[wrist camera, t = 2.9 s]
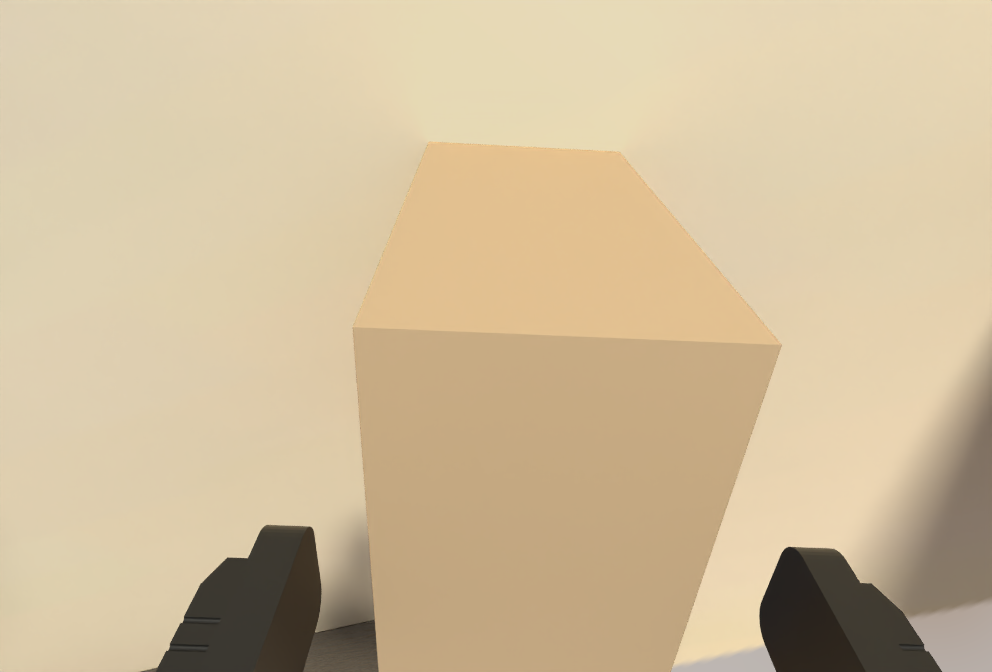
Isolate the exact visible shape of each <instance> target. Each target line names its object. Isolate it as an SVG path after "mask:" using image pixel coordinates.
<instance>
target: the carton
mask: <svg viewBox="0 0 992 672" xmlns="http://www.w3.org/2000/svg"><path fill="white" fill-rule="evenodd" d="M353 338H354V351H355V365H356V378H357V391H358V404H359V418H360V431H361V444H362V458H363V471H364V484H365V497H366V511H367V524H368V537H369V550H370V564H371V577H372V590H373V603H374V617H375V630H376V643H377V656H378V670H379V672H671V669H672V666H673V663H674V660H675V657H676V654H677V651H678V649H679V646H680V643H681V640H682V637H683V634H684V631H685V628H686V625H687V622H688V619H689V616H690V613H691V610H692V607H693V604H694V602H695V599H696V596H697V593H698V590H699V587H700V584H701V581H702V578H703V575H704V572H705V569H706V566H707V563H708V560H709V558H710V555H711V552H712V549H713V546H714V543H715V540H716V537H717V534H718V531H719V528H720V525H721V522H722V519H723V516H724V513H725V511H726V508H727V505H728V502H729V499H730V496H731V493H732V490H733V487H734V484H735V481H736V478H737V475H738V472H739V469H740V466H741V464H742V461H743V458H744V455H745V452H746V449H747V446H748V443H749V440H750V437H751V434H752V431H753V428H754V425H755V422H756V420H757V417H758V414H759V411H760V408H761V405H762V402H763V399H764V396H765V393H766V390H767V387H768V384H769V381H770V378H771V375H772V373H773V370H774V367H775V364H776V361H777V358H778V355H779V352H780V349H781V346H782V345H781V343H780V342H779V341H778V340H777V339H776V337H775V336H774V335H773V334H772V333H771V331H770V330H769V329H768V328H767V327H766V326H765V324H764V323H763V322H762V321H761V320H760V318H759V317H758V316H757V315H756V314H755V312H754V311H753V310H752V309H751V308H750V307H749V305H748V304H747V303H746V302H745V301H744V299H743V298H742V297H741V296H740V295H739V293H738V292H737V291H736V290H735V289H734V287H733V286H732V285H731V284H730V283H729V282H728V280H727V279H726V278H725V277H724V276H723V274H722V273H721V272H720V271H719V270H718V268H717V267H716V266H715V265H714V264H713V263H712V261H711V260H710V259H709V258H708V257H707V255H706V254H705V253H704V252H703V251H702V249H701V248H700V247H699V246H698V245H697V244H696V242H695V241H694V240H693V239H692V238H691V236H690V235H689V234H688V233H687V232H686V230H685V229H684V228H683V227H682V226H681V225H680V223H679V222H678V221H677V220H676V219H675V217H674V216H673V215H672V214H671V213H670V211H669V210H668V209H667V208H666V207H665V205H664V204H663V203H662V202H661V201H660V200H659V198H658V197H657V196H656V195H655V194H654V192H653V191H652V190H651V189H650V188H649V186H648V185H647V184H646V183H645V182H644V181H643V179H642V178H641V177H640V176H639V175H638V173H637V172H636V171H635V170H634V169H633V167H632V166H631V165H630V164H629V163H628V162H627V160H626V159H625V158H624V157H623V156H622V154H621V153H620V152H613V151H594V150H575V149H556V148H537V147H519V146H500V145H481V144H462V143H443V142H429V143H428V145H427V147H426V150H425V152H424V155H423V157H422V160H421V162H420V164H419V167H418V169H417V172H416V174H415V177H414V179H413V181H412V184H411V186H410V189H409V191H408V194H407V196H406V199H405V201H404V203H403V206H402V208H401V211H400V213H399V216H398V218H397V220H396V223H395V225H394V228H393V230H392V233H391V235H390V237H389V240H388V242H387V245H386V247H385V250H384V252H383V255H382V257H381V259H380V262H379V264H378V267H377V269H376V272H375V274H374V276H373V279H372V281H371V284H370V286H369V289H368V291H367V293H366V296H365V298H364V301H363V303H362V306H361V308H360V311H359V313H358V315H357V318H356V320H355V323H354V325H353Z"/></svg>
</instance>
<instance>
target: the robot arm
mask: <svg viewBox="0 0 992 672" xmlns="http://www.w3.org/2000/svg"><path fill="white" fill-rule="evenodd" d="M320 604H321V580H320V573H319V566H318V558H317V551H316V544H315V536H314V531H313V529H312V527H305V526H279V525H266V526H264V527H263V528H262V530H261V531H260V533H259V535H258V537H257V540H256V542H255V544H254V546H253V549H252V551H251V553H250V555H249V557H248V558H227V559H226V560H225V561H224V562H223V563H222V564H221V565H220V566H219V567H218V568H217V569H216V570H214V571H213V572H212V573H211V574H210V575H209V576H208V577H207V578H206V579H205V580H204V581H203V582H202V583H201V584H200V586H199V588H198V590H197V592H196V594H195V596H194V598H193V600H192V602H191V604H190V606H189V608H188V610H187V612H186V614H185V616H184V621H183V623H180V625H179V627H178V629H177V631H176V633H175V635H174V637H173V639H172V641H171V643H170V649H169V651H166V653H165V655H164V657H163V659H162V660H161V662H160V664H159V666H158V668H157V670H156V672H303V670H304V667H305V664H306V660H307V657H308V653H309V650H310V646H311V643H312V640H313V636H314V633H315V629H316V626H317V622H318V617H319V612H320ZM760 628H761V633H762V637H763V640H764V643H765V646H766V648H767V650H768V652H769V655H770V658H771V660H772V662H773V665H774V667H775V669H776V672H942V671H941V669H940V668H939V666H938V665H937V663H936V662H935V660H934V659H933V657H932V656H931V654H930V653H929V652H926V651H925V649H924V644H923V642H922V641H921V639H920V638H919V636H918V635H917V633H916V632H915V630H914V629H913V627H912V626H911V624H910V623H909V621H908V620H907V618H906V617H905V615H904V614H903V612H902V611H901V610H900V609H898V608H897V607H896V606H895V605H894V604H893V603H892V602H891V601H890V600H889V599H888V598H886V597H885V596H884V595H883V594H882V593H881V592H880V591H879V590H878V589H877V588H876V587H874V586H873V585H872V584H867V583H860V582H859V580H858V579H857V577H856V575H855V574H854V572H853V571H852V569H851V567H850V566H849V564H848V563H847V561H846V560H845V558H844V557H843V556H842V555H841V553H839V552H838V551H837V550H835V549H827V548H801V547H788V548H786V549H784V551H783V552H782V554H781V556H780V559H779V561H778V563H777V566H776V568H775V571H774V573H773V575H772V578H771V580H770V583H769V585H768V588H767V590H766V592H765V595H764V597H763V600H762V602H761V606H760Z"/></svg>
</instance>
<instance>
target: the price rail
mask: <svg viewBox="0 0 992 672" xmlns="http://www.w3.org/2000/svg"><path fill="white" fill-rule="evenodd" d="M156 670H157V668H156V669H152V670H147V671H143V672H156ZM303 672H379V670H378V656H377V643H376V630H375V620H374V621H370V622H365V623H361V624H356V625H352V626H347V627H343V628H338V629H333V630H329V631H324V632H320V633H315V634H314V636H313V640H312V643H311V646H310V650H309V653H308V657H307V660H306V664H305V667H304V670H303Z"/></svg>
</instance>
